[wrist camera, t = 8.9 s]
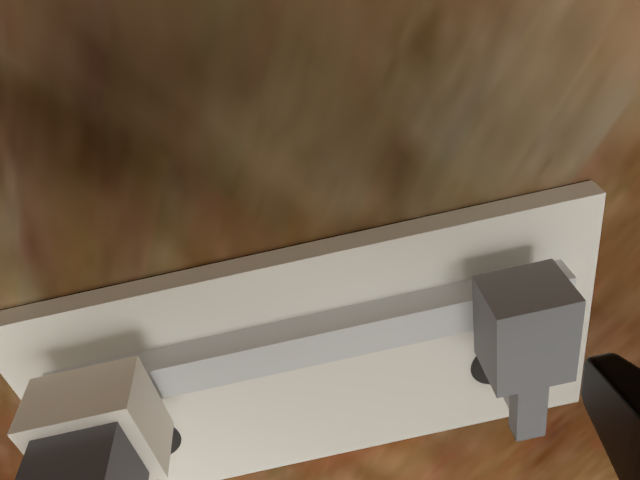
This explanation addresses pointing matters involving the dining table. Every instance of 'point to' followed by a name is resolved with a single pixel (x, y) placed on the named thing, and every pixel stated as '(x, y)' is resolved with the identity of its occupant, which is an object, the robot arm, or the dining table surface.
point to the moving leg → (93, 425)
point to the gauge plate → (345, 334)
